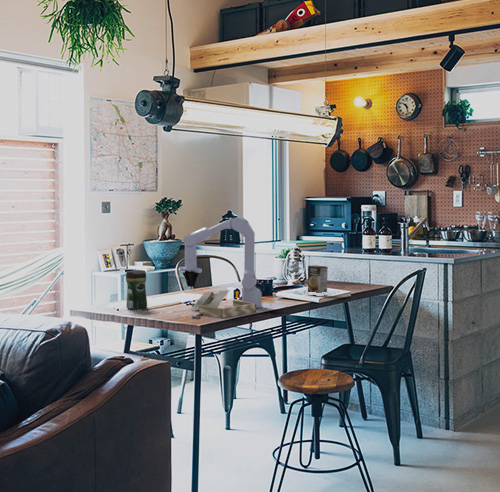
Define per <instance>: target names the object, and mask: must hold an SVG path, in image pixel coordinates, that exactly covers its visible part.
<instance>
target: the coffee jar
mask: <svg viewBox="0 0 500 492" xmlns="http://www.w3.org/2000/svg"><path fill="white" fill-rule="evenodd" d="M125 280H126V281H125V282H126V284H127V289H126V290H127V291H126V293H127V295H126V308H127V309H128V310H142V309H146V308H148V299H147V289H146V282H147V273H146V270H141V269H135V270H134V269H133V270H130V271H129V270H127V271H126V273H125Z"/></svg>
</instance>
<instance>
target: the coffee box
mask: <svg viewBox="0 0 500 492" xmlns="http://www.w3.org/2000/svg"><path fill="white" fill-rule="evenodd" d="M308 292H316V293H322V292H327V293H328V266H323V265H308V266H307V293H308Z"/></svg>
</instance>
